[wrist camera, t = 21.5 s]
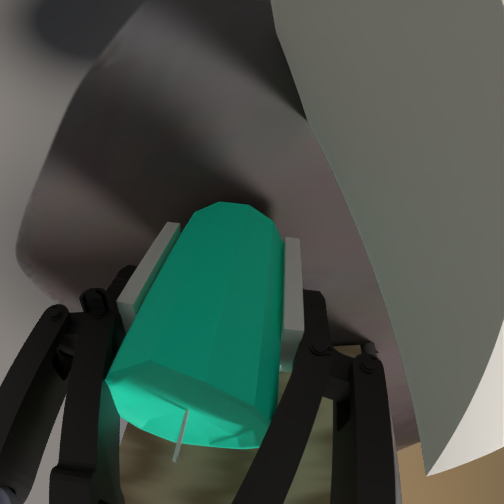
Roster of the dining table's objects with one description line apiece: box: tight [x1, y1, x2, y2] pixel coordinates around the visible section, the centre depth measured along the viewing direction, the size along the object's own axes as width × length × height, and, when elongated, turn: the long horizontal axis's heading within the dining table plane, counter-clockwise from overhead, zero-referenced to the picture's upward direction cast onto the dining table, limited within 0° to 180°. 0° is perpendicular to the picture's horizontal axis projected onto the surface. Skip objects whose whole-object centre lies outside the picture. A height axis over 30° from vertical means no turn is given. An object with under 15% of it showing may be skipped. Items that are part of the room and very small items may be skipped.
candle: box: [105, 201, 284, 462], centre depth 12 cm, size 6×6×12 cm
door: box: [119, 345, 362, 504], centre depth 18 cm, size 17×3×15 cm, turn 95°
